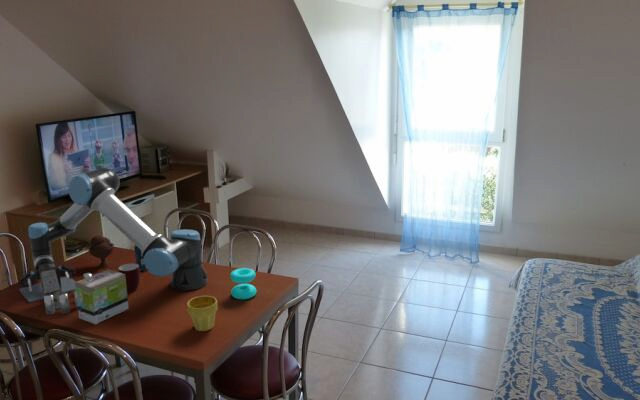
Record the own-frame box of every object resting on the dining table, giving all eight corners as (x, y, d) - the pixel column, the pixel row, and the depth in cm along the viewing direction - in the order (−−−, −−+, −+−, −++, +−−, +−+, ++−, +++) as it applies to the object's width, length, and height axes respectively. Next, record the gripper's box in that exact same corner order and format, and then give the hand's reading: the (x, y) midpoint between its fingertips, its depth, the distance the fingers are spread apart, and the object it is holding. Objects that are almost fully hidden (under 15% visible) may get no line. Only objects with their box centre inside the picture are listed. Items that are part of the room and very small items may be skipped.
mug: (124, 297, 229) (121, 274, 226) (111, 293, 233) (108, 270, 230) (145, 288, 237) (143, 265, 234) (133, 284, 241) (130, 261, 239)
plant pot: (186, 334, 199) (184, 308, 197) (192, 320, 209) (190, 295, 207) (216, 333, 199) (214, 308, 197) (221, 319, 209) (219, 295, 207)
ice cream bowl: (111, 270, 256) (107, 238, 252) (86, 270, 257) (82, 238, 253) (120, 261, 267) (116, 230, 263) (96, 261, 267) (92, 231, 263)
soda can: (137, 266, 261) (134, 241, 258) (153, 264, 262) (150, 239, 259) (136, 271, 254) (133, 246, 251) (152, 270, 256) (149, 244, 253)
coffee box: (65, 307, 222) (59, 268, 217) (46, 311, 218) (40, 271, 214) (61, 298, 229) (55, 260, 225) (43, 302, 226) (37, 264, 222)
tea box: (96, 325, 207) (91, 287, 203) (78, 319, 212) (73, 281, 208) (129, 309, 219) (125, 273, 215) (112, 303, 224) (108, 267, 220)
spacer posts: (106, 301, 226) (104, 284, 224) (49, 317, 213) (47, 300, 211) (92, 287, 238) (90, 272, 237) (37, 303, 225) (34, 286, 224)
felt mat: (81, 288, 238) (81, 287, 237) (29, 303, 225) (29, 301, 225) (69, 277, 250) (69, 275, 249) (19, 290, 237) (18, 288, 237)
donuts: (257, 275, 223) (231, 278, 221) (258, 298, 226) (232, 301, 224) (253, 265, 233) (228, 268, 230) (254, 288, 235) (230, 291, 233)
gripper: (77, 268, 247) (85, 286, 229) (12, 281, 235) (15, 300, 217) (75, 252, 245) (82, 268, 227) (9, 264, 233) (12, 282, 215)
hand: (49, 284), depth 222 cm, fingers open, 13 cm apart
